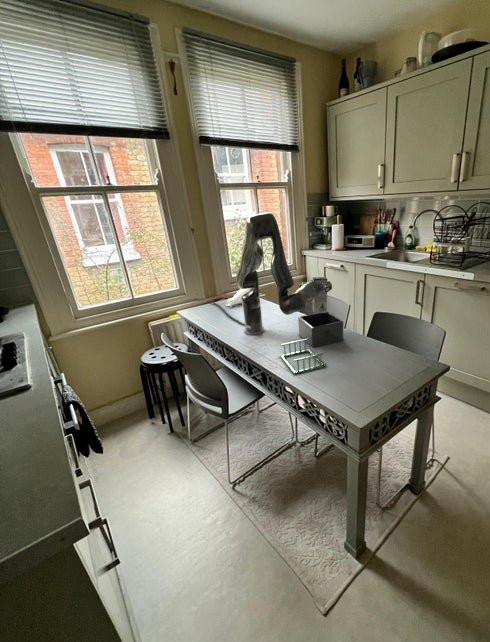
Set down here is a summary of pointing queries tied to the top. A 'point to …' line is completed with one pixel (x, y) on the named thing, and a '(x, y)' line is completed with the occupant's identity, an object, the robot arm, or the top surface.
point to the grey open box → (320, 328)
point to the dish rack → (302, 358)
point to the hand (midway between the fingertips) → (320, 282)
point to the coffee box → (320, 297)
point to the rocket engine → (237, 297)
